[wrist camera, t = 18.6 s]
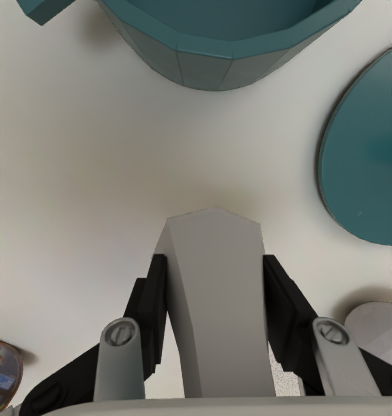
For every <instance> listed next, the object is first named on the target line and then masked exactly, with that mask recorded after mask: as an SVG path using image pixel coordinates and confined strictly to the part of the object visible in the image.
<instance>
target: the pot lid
mask: <svg viewBox="0 0 392 416" xmlns="http://www.w3.org/2000/svg"><path fill="white" fill-rule="evenodd" d="M318 180H319V188H320V192H321V195H322V199H323V201H324V203H325V205H326V208H327V209H328V211H329V213H330V214H331V216H332V217H333V218H334V219H335V220H336V221H337V223H338V224H339V225H340V226H342V227H343V228H344V229H346V230H347V231H348V232H350V233H351V234H353V235H355V236H357V237H359V238H360V239H363V240H366V241H368V242H371V243H376V244H381V245H390V246H392V48H391V49H389V50H388V51H387V52H385V53H384V54H383V55H382V56H380V57H379V58H378V59H377V60H375V61H374V62H373V63H372V64H371V65H370V66H369V67H368V68H367V69H366V70H365V71H364V72H363V73H362V74H361V75H360V76H359V77H358V78H357V79H356V81H355V82H354V83H353V84H352V85H351V87H350V88H349V89H348V90H347V92H346V93H345V95H344V96H343V98H342V99H341V101H340V102H339V104H338V105H337V107H336V109H335V111H334V113H333V115H332V116H331V118H330V121H329V123H328V126H327V128H326V131H325V133H324V136H323V140H322V144H321V147H320V153H319V159H318Z"/></svg>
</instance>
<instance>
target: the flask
mask: <svg viewBox="0 0 392 416" xmlns="http://www.w3.org/2000/svg"><path fill="white" fill-rule="evenodd" d="M154 254H164V256H166V257H167V268H166V285H165V304H166V307H167V311H168V314H169V318H170V322H171V325H172V329H173V332H174V336H175V340H176V343H177V347H178V350H179V355H180V363H181V370H182V378H183V386H184V394H185V398H218V397H276V393H275V387H274V382H273V376H272V371H271V365H270V360H269V351H268V325H267V302H266V292H265V281H264V270H263V255H265V250H264V244H263V238H262V231H261V225H260V223H257V222H255V221H252V220H250V219H247V218H244V217H242V216H239V215H237V214H234V213H232V212H229V211H226V210H224V209H221V208H219V207H212V208H208V209H204V210H200V211H196V212H192V213H187V214H183V215H179V216H175V217H171V218H167V221H166V223H165V226H164V228H163V231H162V233H161V236H160V238H159V241H158V243H157V246H156V248H155V251H154V253H153V255H154ZM152 258H153V256H152ZM152 258H151V259H152Z"/></svg>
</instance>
